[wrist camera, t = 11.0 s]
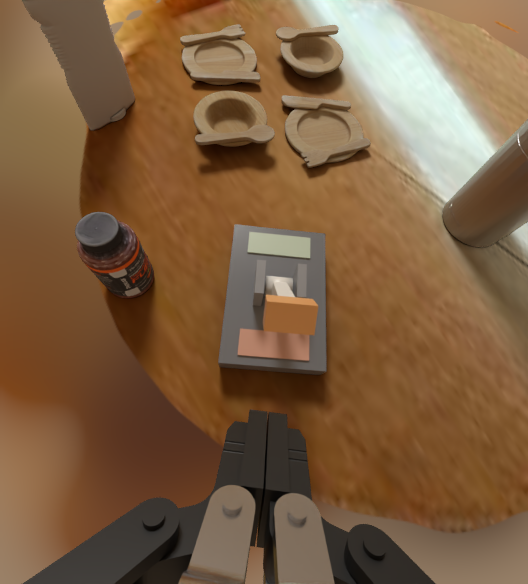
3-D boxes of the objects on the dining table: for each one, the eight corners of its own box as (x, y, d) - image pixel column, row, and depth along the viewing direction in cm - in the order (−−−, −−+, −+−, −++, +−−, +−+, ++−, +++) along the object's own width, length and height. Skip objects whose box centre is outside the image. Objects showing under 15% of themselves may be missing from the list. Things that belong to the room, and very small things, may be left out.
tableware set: (180, 36, 61) (176, 10, 57) (327, 36, 65) (332, 12, 61) (192, 181, 48) (189, 160, 44) (374, 170, 52) (385, 150, 48)
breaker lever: (295, 277, 38) (318, 305, 24) (292, 296, 39) (314, 335, 25) (262, 273, 38) (267, 301, 24) (260, 293, 38) (263, 331, 25)
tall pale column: (126, 89, 53) (59, -114, 33) (145, 100, 53) (88, -100, 33) (78, 125, 50) (-31, -80, 29) (98, 137, 49) (1, -64, 29)
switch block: (319, 245, 45) (333, 215, 38) (319, 375, 38) (337, 365, 32) (234, 236, 44) (234, 205, 38) (219, 367, 37) (216, 355, 31)
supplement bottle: (151, 301, 40) (120, 259, 29) (102, 298, 39) (54, 253, 29) (159, 259, 42) (134, 206, 32) (113, 255, 42) (72, 200, 31)
